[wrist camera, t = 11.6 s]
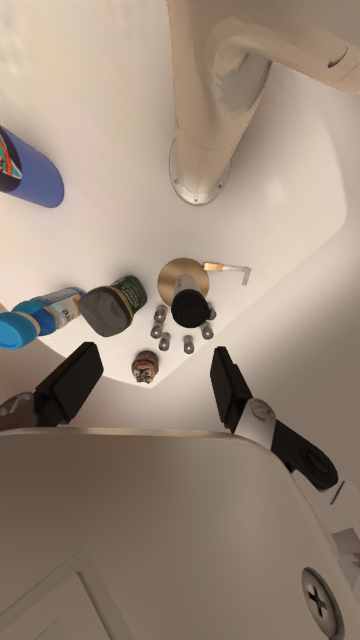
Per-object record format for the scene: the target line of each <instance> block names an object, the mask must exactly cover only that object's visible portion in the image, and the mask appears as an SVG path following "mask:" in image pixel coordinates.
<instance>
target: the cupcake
mask: <svg viewBox="0 0 360 640" xmlns="http://www.w3.org/2000/svg"><path fill="white" fill-rule="evenodd" d="M158 369H159V367H158V358H157V356H156V354H155V353H153V352H150V351H143V352H141V353H140V354H139V355H138V356H137V358H136V359H135V360H134V362H133V363H132V373H133V375H134V377H135V378H136V380H137V382H146V383H148V384H149V383H151V382H152V381H153V378H154V376H155V375H156V374H157V372H158V371H159V370H158Z"/></svg>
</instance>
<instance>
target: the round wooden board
mask: <svg viewBox="0 0 360 640" xmlns="http://www.w3.org/2000/svg"><path fill="white" fill-rule="evenodd" d="M182 275H190V276H192V277H193V278H194V279H195V281H196V283H197V285H198V286H199V288H200V290H201V292H202V294H203V295H204V297H206V295H207V293H208V290H209V278H208V275H207V272H206V271H205V270H204V269H203V267H202V266H201V265H200V264H199V263H198V262H196V261H194V260H192V259H188V258H179V259H175V260H173V261H171V262H169V263H168V264H167V265H166V266H165V267H164V268H163V269H162V271H161V272H160V275H159V278H158V291H159V294H160V297H161V298H162V300H163V301H164V302H165V303H166V304H167V305H168V306H170V307H172V299H173V293H174V287H175V282H176V280H177V278H178V277H180V276H182Z"/></svg>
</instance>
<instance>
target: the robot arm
mask: <svg viewBox="0 0 360 640" xmlns="http://www.w3.org/2000/svg"><path fill="white" fill-rule="evenodd" d="M167 6H168V13H169V22H170V32H171V44H172V60H173V81H174V104H175V131H176V137H175V139H174V141H173V144H172V147H171V151H170V158H169V170H170V177H171V181H172V184H173V187H174V189H175V191H176V192H177V194H178V195H179V196H180V198H181V199H182V200H184V201H185V202H186V203H189V204H191V205H196V206H198V205H204V204H207V203H209V202H211V201H212V200H213V199H215V198H216V197H217V196H218V194H219V193H220V192H221V190H222V189H223V187H224V185H225V183H226V181H227V178H228V175H229V171H230V166H231V157H232V155H233V153H234V151H235V149H236V147H237V145H238V143H239V142H240V140H241V138H242V136H243V134H244V132H245V130H246V128H247V127H248V125H249V123H250V121H251V119H252V117H253V115H254V113H255V111H256V109H257V107H258V105H259V103H260V100H261V98H262V95H263V93H264V90H265V87H266V84H267V81H268V77H269V74H270V70H271V66H272V61H273V62H276V61H277V62H279V63H282V64H284V65H286V66H288V67H290V68H292V69H294V70H296V71H298V72H301V73H303V74H305V75H307V76H309V77H311V78H313V79H315V80H317V81H320V82H322V83H324V84H326V85H328V86H332V87H334V88H336V89H338V90H341V91H344V92H347V93H353V94H360V0H167ZM175 181H177V183H175ZM218 186H220V188H218ZM195 200H197V202H195ZM103 371H104V369H103V365H102V362H101V358H100V355H99V352H98V348H97V345H96V344H94V342H84V343H83V344H82V345H80V346H79V347H78V348H77V349H76V350H75V351H74V352H73V353H72V354H71V355H70V356H69V357H68V358H67V359H66V360H65V361H64V362H63V363H61V364H60V365H59V366H58V367H57V368H56V369H55V370H54V371H53V372H52V373H51V374H50V375H49V376H48V377H47V378H46V379H44V380H43V381H42V382H41V383H40V384H39V385H38V386H37V387H36V388H35V389H36V391H35V392H34V393H32V392H23V393H20V394H17V395H15V396H13V397H11V398H9V399H7V400H6V401H5V402H3V403H2V404H1V405H0V640H360V492H359V491H358V490H357V489H356V488H355V487H354V486H353V485H352V484H351V483H350V482H349V481H348V480H345V481H344V480H343V479H342V478H341V477H340V476H339V475H338V473H337V471H336V469H335V467H334V465H333V463H332V462H331V461H330V459H329V458H328V457H327V456H326V455H325V454H324V453H323V452H322V451H321V450H320V449H318V448H317V447H316V446H314V445H313V444H311V443H310V442H309V441H307V440H306V439H304V438H303V437H302V436H300V435H299V434H297V433H296V432H294V431H293V430H291V429H290V428H289V427H287V426H286V425H284V424H283V423H282V422H280V421H279V420H277V419H276V415H275V413H274V411H273V409H272V408H271V407H270V406H269V405H268V404H267V403H266V402H264V401H263V400H261V399H257V398H253V396H252V394H251V392H250V390H249V388H248V386H247V384H246V382H245V380H244V378H243V376H242V374H241V372H240V370H239V368H238V366H237V365H236V364H233V362H232V360H231V358H230V355H229V353H228V351H227V349H226V347H223V346H218V347H217V348H215V350H214V355H213V360H212V365H211V370H210V378H211V382H212V386H213V390H214V395H215V399H216V403H217V407H218V411H219V416H220V420H221V422H222V423H224V426H225V428H229V429H230V430H231V433H232V434H230V433H223V432H212V431H193V430H163V429H161V430H160V429H126V428H125V429H124V428H122V429H121V428H77V427H74V428H73V427H56V426H57V425H58V424H67V425H68V424H69V422H70V421H71V419H73V418H74V417H75V416H76V414H77V413H78V411H79V410H80V408H81V407H82V405H83V403H84V402H85V400H86V399H87V397H88V395H89V394H90V393H91V391H92V389H93V388H94V386H95V385H96V383H97V381H98V380H99V378H100V377H101V375H102V374H103ZM305 498H306V499H307V500H308V501H309V502H310V504H311V505H312V506H313V507H314V509H315V510H316V512H315V513H316V514H317V516H318V517H319V518H320V519H321V521H322V522H323V523H324V524H325V526H326V527H327V529H328V530H329V532H330V533H331V535H332V537H333V539H334V541H335V543H336V546H337V550H338V554H339V561H337V559H336V557H335V555H334V553H333V551H332V549H331V547H330V545H329V543H328V541H327V539H326V537H325V535H324V533H323V531H322V529H321V527H320V525H319V523H318V521H317V520H316V518H315V516H314V514H313V512H312V510H311V508H310V507H309V505H308V503H307V501H306V499H305ZM303 569H304V570H303Z"/></svg>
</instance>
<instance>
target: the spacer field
mask: <svg viewBox="0 0 360 640" xmlns="http://www.w3.org/2000/svg"><path fill="white" fill-rule="evenodd" d="M207 304H208V306H209V310H210V308H211V309H212V312H211V317H210V319H209V320H213V319H215V317H216V312H215V310H214V309H213V307H212V305H211V304H210V303H207ZM166 314H167V308H166V306H164V305H160V306H158V308H157V310H156V313H155V315H154V320H155V322H154V325H153V328H152V330H151V336H152V337H153V338H155V339H158V338H160V337H161V339H160V343H159V349H160V350H162V351H167V350H168V349H169V343H170V334H169V333H166V332H165V333H162V330H163V325H164V324H163V322H164V321H165V318H166ZM207 320H208V319H207ZM200 328H201V331H202V335H203V338H204V339H207V340H209V339H211V338H212V337H213V335H214V334H213V331H212V329H211V326H210V324H209V322H207V321H205V322H204V323H203V324H202V325H200ZM161 334H162V335H161ZM184 352H185V353H187V354H191V353H193V352H194V345H193V338H192V337H191V336H190V335H187V336H185V337H184Z"/></svg>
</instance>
